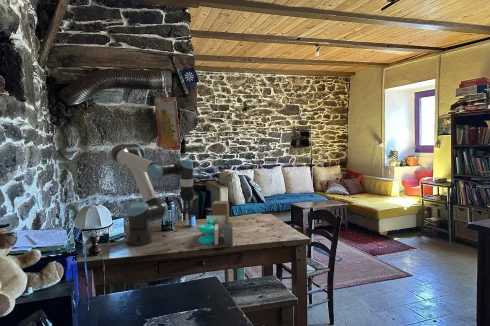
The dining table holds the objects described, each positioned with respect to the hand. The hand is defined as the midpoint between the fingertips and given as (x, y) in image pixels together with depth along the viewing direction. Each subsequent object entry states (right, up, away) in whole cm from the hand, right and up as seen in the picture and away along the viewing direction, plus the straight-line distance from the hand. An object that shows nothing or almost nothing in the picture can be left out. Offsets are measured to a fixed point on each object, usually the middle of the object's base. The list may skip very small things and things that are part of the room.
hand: (187, 224), depth 207 cm
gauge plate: (+18, -10, +2) cm, 20 cm away
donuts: (+12, -11, +1) cm, 16 cm away
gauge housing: (+19, -11, +3) cm, 22 cm away
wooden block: (+19, -9, +25) cm, 32 cm away
